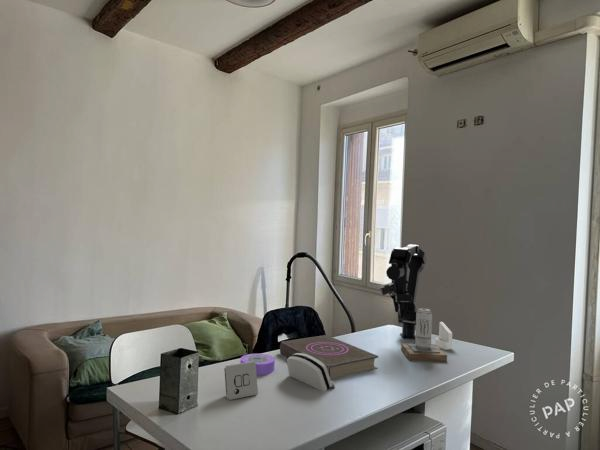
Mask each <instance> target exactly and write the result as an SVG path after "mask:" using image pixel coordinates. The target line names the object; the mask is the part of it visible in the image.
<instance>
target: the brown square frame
mask: <svg viewBox="0 0 600 450" xmlns="http://www.w3.org/2000/svg"><path fill="white" fill-rule="evenodd" d="M400 350H401V351H402V352H403V353H404V355H405V356H406V358H407V359H408V360H409V361H412V360H417V362H440V363H441V362H442V363H443V362H445V363H447V362H448V354H446V352H444V350H443V349H442V348H439V347H438V346H437V345H436V344H435V343H434V344H433V343H431V347H430V348H429V349H420V348H417V346H416V345H415V343H405V342H403V343H402V342H401V343H400Z"/></svg>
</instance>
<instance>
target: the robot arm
mask: <svg viewBox="0 0 600 450" xmlns="http://www.w3.org/2000/svg"><path fill="white" fill-rule="evenodd" d="M388 264H389V265H390V266H388V268H387V269H386V271H385V272H386V277H387V278H388V279H390V280H391V282H389V283H386V284H383V285H380V286H379V287H378V288H379V291H380V293H381V295H382V296H385V295H387V294H388V296H389V297H390V298H391V299H392V303H393V307H394V312H395V313H397V318H398V323H401V326H402V327H401V328H402V330H401V331H402V332H401V333H399V335H400V337H402V338H403V339H415V337H416V313H417V311H418V309H419V308H418V307H417V304H416V300H417V293H418V286H419V278H420V274H421V272H422V271H423V270H424V268H425V265H426V264H427V257H426V252H424V250H422V249H421V248H420V245H418V244H411V243H410V244H407V246H404V247H394V248H393V249H392V250H391V253H390V257H389V260H388ZM408 270H409V273H408Z"/></svg>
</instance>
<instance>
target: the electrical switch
mask: <svg viewBox="0 0 600 450" xmlns="http://www.w3.org/2000/svg"><path fill="white" fill-rule="evenodd" d="M257 376H258V375H256V364H255V362H247V363H236V364H234V363H233V364H230V365H226V366H225V367H224V383H225V385H224V386H225V396H226V399H227V400H230V401H231V400H237V399H241V398H246V397H250V396H251V397H253V396H256V395H258V392H259V387H258V377H257Z"/></svg>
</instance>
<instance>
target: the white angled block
mask: <svg viewBox="0 0 600 450" xmlns="http://www.w3.org/2000/svg"><path fill="white" fill-rule="evenodd" d="M434 344H436V345H437V346H438V347H439V348H440V349H441V350H443V351H444V350H445V351H446V350H452V349H453V348H452V347H453V332H452V331H451V329H450V328H449V327H448V326H447V325H446V324H445V323H444V322H443V321H439V324H438V338H437V337H436V338H435V342H434Z"/></svg>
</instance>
